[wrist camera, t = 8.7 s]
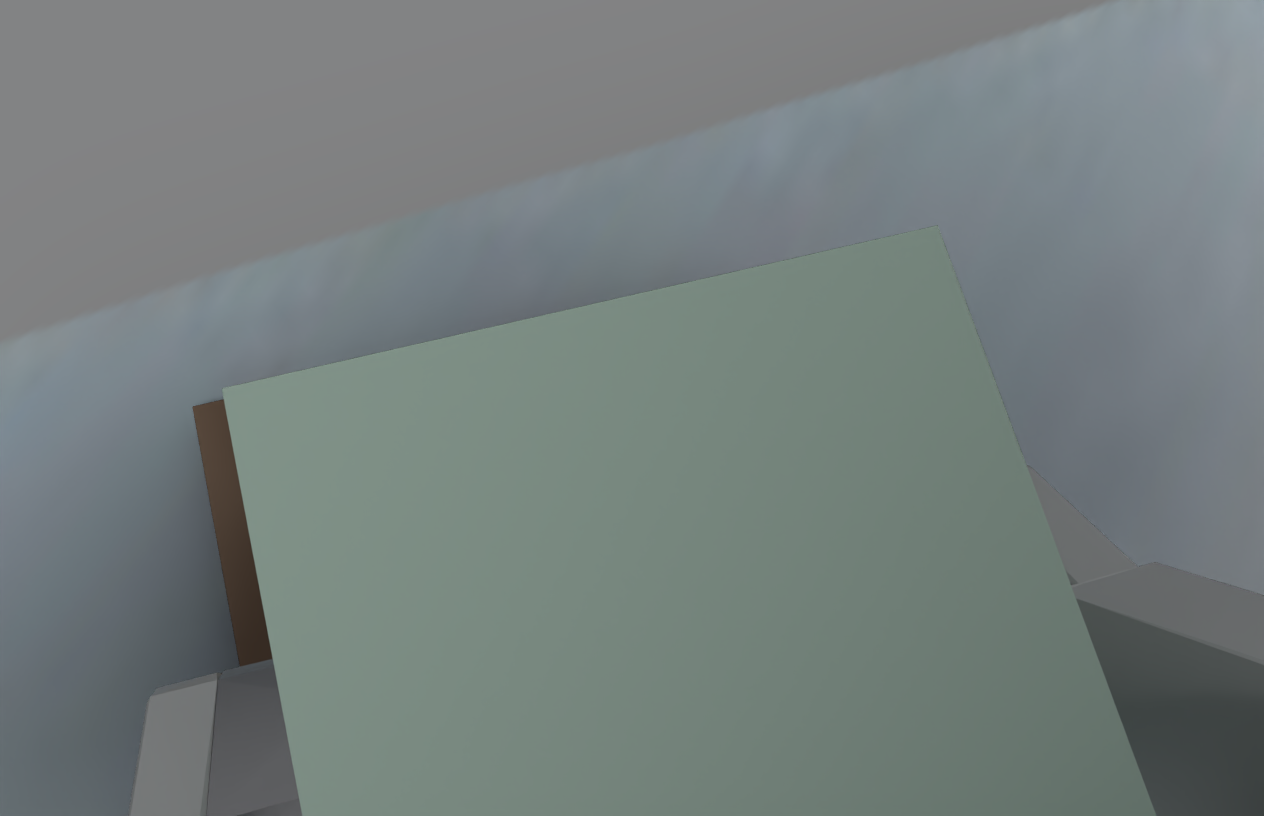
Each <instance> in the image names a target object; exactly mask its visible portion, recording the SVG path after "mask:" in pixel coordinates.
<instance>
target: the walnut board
mask: <svg viewBox="0 0 1264 816" xmlns="http://www.w3.org/2000/svg"><path fill="white" fill-rule="evenodd" d="M193 412H194V418H195V423H196V429H197V434H198V439H199V445H200V450H201V456H202V461H203V467H204V472H205V478H206V483H207V489H208V494H209V500H210V505H211V511H212V516H213V522H214V527H215V533H216V538H217V544H218V549H219V555H220V560H221V566H222V571H223V577H224V582H225V588H226V593H227V598H228V604H229V609H230V615H231V620H232V626H233V631H234V637H235V642H236V648H237V653H238V659H239V664H240V667H241V666H245V665H249V664H253V663H257V662H261V661H266V660H270V659H273V658H272V652H271V647H270V642H269V636H268V631H267V626H266V620H265V615H264V610H263V605H262V599H261V594H260V589H259V583H258V578H257V573H256V567H255V562H254V557H253V552H252V546H251V541H250V536H249V530H248V525H247V520H246V515H245V509H244V504H243V499H242V493H241V488H240V483H239V477H238V472H237V467H236V462H235V456H234V451H233V446H232V440H231V435H230V430H229V424H228V419H227V414H226V409H225V403H224V399H223V400H219V401H215V402H210V403H206V404H202V405H198V406H193Z"/></svg>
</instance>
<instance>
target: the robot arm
mask: <svg viewBox="0 0 1264 816" xmlns="http://www.w3.org/2000/svg"><path fill="white" fill-rule="evenodd" d="M1027 468H1028V471H1029V473H1030V476H1031V479H1032V481H1033V484H1034V487H1035V490H1036V492H1037V495H1038V498H1039V500H1040V503H1041V506H1042V508H1043V511H1044V514H1045V517H1046V519H1047V522H1048V525H1049V527H1050V530H1051V533H1052V535H1053V538H1054V541H1055V544H1056V546H1057V549H1058V552H1059V554H1060V557H1061V560H1062V562H1063V565H1064V568H1065V571H1066V573H1067V576H1068V579H1069V581H1070V584H1071V587H1072V589H1073V592H1074V595H1075V598H1076V600H1077V603H1078V606H1079V608H1080V611H1081V614H1082V616H1083V619H1084V622H1085V625H1086V627H1087V630H1088V633H1089V635H1090V638H1091V641H1092V643H1093V646H1094V649H1095V652H1096V654H1097V657H1098V660H1099V662H1100V665H1101V668H1102V670H1103V673H1104V676H1105V678H1106V681H1107V684H1108V687H1109V689H1110V692H1111V695H1112V697H1113V700H1114V703H1115V705H1116V708H1117V711H1118V714H1119V716H1120V719H1121V722H1122V724H1123V727H1124V730H1125V732H1126V735H1127V738H1128V741H1129V743H1130V746H1131V749H1132V751H1133V754H1134V757H1135V759H1136V762H1137V765H1138V768H1139V770H1140V773H1141V776H1142V778H1143V781H1144V784H1145V786H1146V789H1147V792H1148V795H1149V797H1150V800H1151V803H1152V805H1153V808H1154V811H1155V813H1156V816H1264V595H1261V594H1258V593H1254V592H1251V591H1248V590H1245V589H1241V588H1238V587H1235V586H1231V585H1228V584H1225V583H1222V582H1218V581H1215V580H1212V579H1209V578H1205V577H1202V576H1199V575H1196V574H1192V573H1189V572H1186V571H1183V570H1179V569H1176V568H1173V567H1169V566H1166V565H1163V564H1160V563H1156V562H1154V563H1150V564H1146V565H1142V566H1139V567H1138V566H1137V565H1136V564H1135V563H1133V562H1132V561H1131V560H1130V559H1129V558H1128V557H1127V556H1126V555H1125V554H1124V553H1123V552H1122V551H1121V550H1119V549H1118V548H1117V547H1116V546H1115V545H1114V544H1113V543H1112V542H1111V541H1110V540H1109V539H1108V538H1107V537H1106V536H1104V535H1103V534H1102V533H1101V532H1100V531H1099V530H1098V529H1097V528H1096V527H1095V526H1094V525H1093V524H1092V523H1091V522H1089V521H1088V520H1087V519H1086V518H1085V517H1084V516H1083V515H1082V514H1081V513H1080V512H1079V511H1078V510H1077V509H1076V508H1074V507H1073V506H1072V505H1071V504H1070V503H1069V502H1068V501H1067V500H1066V499H1065V498H1064V497H1063V496H1062V495H1061V494H1059V493H1058V492H1057V491H1056V490H1055V489H1054V488H1053V487H1052V486H1051V485H1050V484H1049V483H1048V482H1047V481H1046V480H1044V479H1043V478H1042V477H1041V476H1040V475H1039V474H1038V473H1037V472H1036V471H1035V470H1034V469H1033V468H1032V467H1030V466H1028V465H1027ZM128 816H302V811H301V806H300V801H299V795H298V790H297V785H296V779H295V774H294V769H293V764H292V758H291V753H290V748H289V742H288V737H287V732H286V726H285V721H284V716H283V711H282V705H281V700H280V695H279V689H278V684H277V679H276V673H275V668H274V663H273V659H270V660H266V661H261V662H257V663H253V664H249V665H245V666H241V667H236V668H232V669H228V670H224V672H223V673H213V674H209V675H205V676H201V677H197V678H194V679H190V680H186V681H182V682H178V683H174V684H170V685H166V686H162V687H158V688H156V690H155V691H154V692H153V694H152V695H151V696H150V698H149V700H148V701H147V705H146V711H145V717H144V723H143V729H142V735H141V741H140V747H139V753H138V759H137V765H136V771H135V777H134V783H133V788H132V794H131V800H130V806H129V812H128Z"/></svg>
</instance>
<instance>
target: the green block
mask: <svg viewBox="0 0 1264 816" xmlns="http://www.w3.org/2000/svg"><path fill="white" fill-rule="evenodd" d="M222 393H223V398H224V403H225V409H226V414H227V419H228V424H229V430H230V435H231V440H232V446H233V451H234V456H235V462H236V467H237V472H238V477H239V483H240V488H241V493H242V499H243V504H244V509H245V515H246V520H247V525H248V530H249V536H250V541H251V546H252V552H253V557H254V562H255V567H256V573H257V578H258V583H259V589H260V594H261V599H262V605H263V610H264V615H265V620H266V626H267V631H268V636H269V642H270V647H271V652H272V658H273V663H274V668H275V673H276V679H277V684H278V689H279V695H280V700H281V705H282V711H283V716H284V721H285V726H286V732H287V737H288V742H289V748H290V753H291V758H292V764H293V769H294V774H295V779H296V785H297V790H298V795H299V801H300V806H301V811H302V816H1156V813H1155V811H1154V808H1153V805H1152V803H1151V800H1150V797H1149V795H1148V792H1147V789H1146V786H1145V784H1144V781H1143V778H1142V776H1141V773H1140V770H1139V768H1138V765H1137V762H1136V759H1135V757H1134V754H1133V751H1132V749H1131V746H1130V743H1129V741H1128V738H1127V735H1126V732H1125V730H1124V727H1123V724H1122V722H1121V719H1120V716H1119V714H1118V711H1117V708H1116V705H1115V703H1114V700H1113V697H1112V695H1111V692H1110V689H1109V687H1108V684H1107V681H1106V678H1105V676H1104V673H1103V670H1102V668H1101V665H1100V662H1099V660H1098V657H1097V654H1096V652H1095V649H1094V646H1093V643H1092V641H1091V638H1090V635H1089V633H1088V630H1087V627H1086V625H1085V622H1084V619H1083V616H1082V614H1081V611H1080V608H1079V606H1078V603H1077V600H1076V598H1075V595H1074V592H1073V589H1072V587H1071V584H1070V581H1069V579H1068V576H1067V573H1066V571H1065V568H1064V565H1063V562H1062V560H1061V557H1060V554H1059V552H1058V549H1057V546H1056V544H1055V541H1054V538H1053V535H1052V533H1051V530H1050V527H1049V525H1048V522H1047V519H1046V517H1045V514H1044V511H1043V508H1042V506H1041V503H1040V500H1039V498H1038V495H1037V492H1036V490H1035V487H1034V484H1033V481H1032V479H1031V476H1030V473H1029V471H1028V468H1027V465H1026V463H1025V460H1024V457H1023V454H1022V452H1021V449H1020V446H1019V444H1018V441H1017V438H1016V436H1015V433H1014V430H1013V427H1012V425H1011V422H1010V419H1009V417H1008V414H1007V411H1006V409H1005V406H1004V403H1003V401H1002V398H1001V395H1000V392H999V390H998V387H997V384H996V382H995V379H994V376H993V374H992V371H991V368H990V365H989V363H988V360H987V357H986V355H985V352H984V349H983V347H982V344H981V341H980V338H979V336H978V333H977V330H976V328H975V325H974V322H973V320H972V317H971V314H970V311H969V309H968V306H967V303H966V301H965V298H964V295H963V293H962V290H961V287H960V284H959V282H958V279H957V276H956V274H955V271H954V268H953V266H952V263H951V260H950V257H949V255H948V252H947V249H946V247H945V244H944V241H943V239H942V236H941V233H940V230H939V228H938V225H937V226H932V227H928V228H924V229H919V230H915V231H910V232H906V233H902V234H897V235H893V236H888V237H884V238H880V239H875V240H871V241H866V242H862V243H858V244H853V245H849V246H845V247H840V248H836V249H831V250H827V251H823V252H818V253H814V254H809V255H805V256H801V257H796V258H792V259H787V260H783V261H779V262H774V263H770V264H766V265H761V266H757V267H752V268H748V269H744V270H739V271H735V272H730V273H726V274H722V275H717V276H713V277H709V278H704V279H700V280H695V281H691V282H687V283H682V284H678V285H673V286H669V287H665V288H660V289H656V290H651V291H647V292H643V293H638V294H634V295H630V296H625V297H621V298H616V299H612V300H608V301H603V302H599V303H594V304H590V305H586V306H581V307H577V308H572V309H568V310H564V311H559V312H555V313H551V314H546V315H542V316H537V317H533V318H529V319H524V320H520V321H515V322H511V323H507V324H502V325H498V326H493V327H489V328H485V329H480V330H476V331H472V332H467V333H463V334H458V335H454V336H450V337H445V338H441V339H436V340H432V341H428V342H423V343H419V344H414V345H410V346H406V347H401V348H397V349H393V350H388V351H384V352H379V353H375V354H371V355H366V356H362V357H357V358H353V359H349V360H344V361H340V362H335V363H331V364H327V365H322V366H318V367H314V368H309V369H305V370H300V371H296V372H292V373H287V374H283V375H278V376H274V377H270V378H265V379H261V380H256V381H252V382H248V383H243V384H239V385H235V386H230V387H226V388H222Z"/></svg>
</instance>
